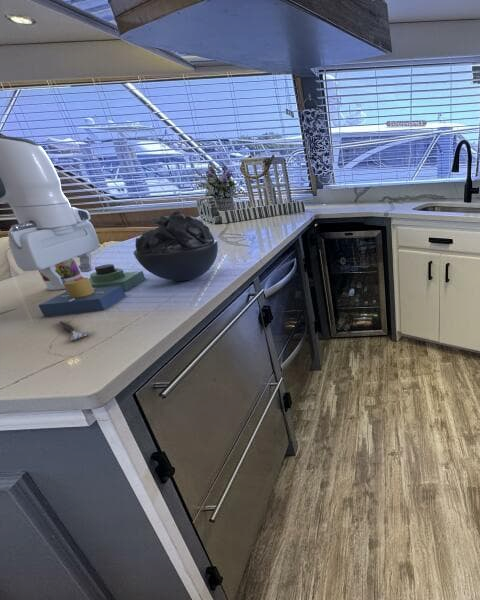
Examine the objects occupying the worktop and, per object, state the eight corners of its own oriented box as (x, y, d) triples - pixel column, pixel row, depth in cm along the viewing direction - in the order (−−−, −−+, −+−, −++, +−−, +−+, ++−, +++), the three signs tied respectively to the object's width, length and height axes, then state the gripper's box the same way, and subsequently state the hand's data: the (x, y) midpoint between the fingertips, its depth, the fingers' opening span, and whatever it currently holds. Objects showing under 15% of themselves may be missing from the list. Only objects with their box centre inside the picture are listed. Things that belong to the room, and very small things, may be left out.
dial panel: (44, 316, 73) (37, 304, 72) (72, 301, 81) (66, 290, 80) (104, 310, 75) (98, 298, 74) (125, 296, 83) (121, 284, 82)
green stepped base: (75, 296, 85) (68, 280, 83) (100, 283, 94) (93, 269, 92) (127, 291, 87) (120, 275, 85) (145, 279, 96) (140, 264, 94)
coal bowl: (192, 292, 84) (169, 219, 77) (127, 290, 87) (99, 220, 80) (239, 268, 102) (224, 208, 95) (183, 268, 105) (165, 209, 98)
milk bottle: (41, 289, 91) (4, 218, 83) (73, 280, 98) (42, 213, 90) (59, 291, 89) (22, 218, 81) (91, 282, 95) (60, 213, 88)
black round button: (94, 276, 87) (91, 269, 86) (103, 272, 90) (100, 265, 89) (110, 274, 87) (107, 267, 86) (119, 270, 91) (116, 263, 90)
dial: (86, 296, 75) (79, 281, 74) (65, 298, 75) (57, 283, 73) (98, 290, 79) (92, 275, 78) (78, 292, 79) (71, 277, 77)
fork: (69, 321, 70) (65, 313, 70) (93, 339, 62) (89, 330, 61) (53, 326, 68) (48, 317, 68) (76, 345, 60) (71, 336, 59)
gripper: (25, 225, 61) (57, 292, 67) (93, 211, 80) (114, 264, 85) (-16, 227, 60) (21, 295, 66) (63, 212, 79) (86, 266, 84)
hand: (74, 277), depth 76 cm, fingers open, 8 cm apart
